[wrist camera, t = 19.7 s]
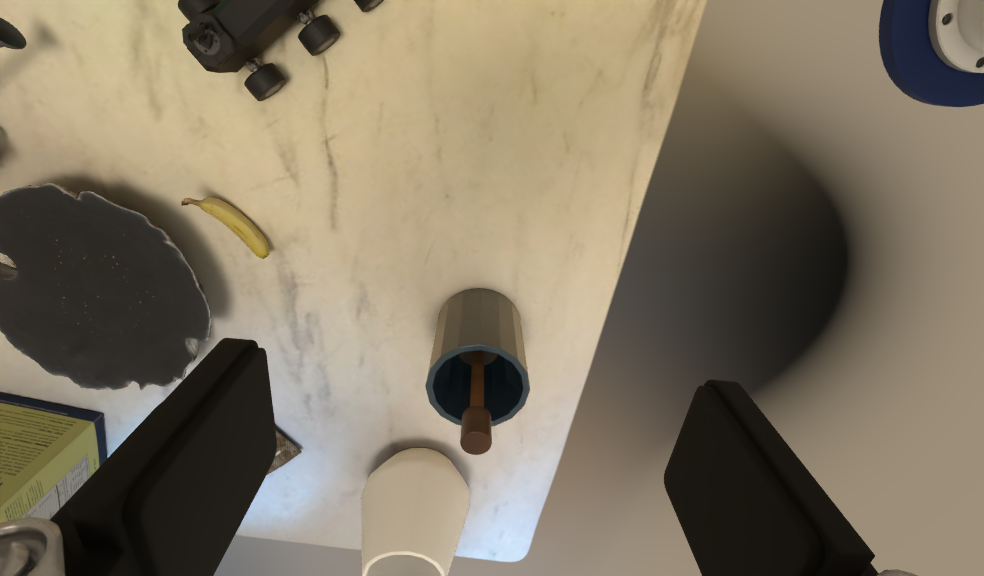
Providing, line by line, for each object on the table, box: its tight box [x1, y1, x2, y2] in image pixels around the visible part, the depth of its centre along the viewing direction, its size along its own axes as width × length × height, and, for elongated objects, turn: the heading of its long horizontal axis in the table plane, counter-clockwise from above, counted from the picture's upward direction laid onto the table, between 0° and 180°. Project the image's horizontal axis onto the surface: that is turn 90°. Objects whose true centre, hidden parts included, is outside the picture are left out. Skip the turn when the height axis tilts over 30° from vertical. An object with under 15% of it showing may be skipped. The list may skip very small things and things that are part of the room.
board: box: [0, 183, 212, 390], centre depth 46 cm, size 22×22×5 cm
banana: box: [181, 197, 269, 259], centre depth 44 cm, size 8×2×4 cm, turn 41°
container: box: [426, 289, 530, 426], centre depth 46 cm, size 9×9×11 cm
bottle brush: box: [458, 350, 498, 455], centre depth 43 cm, size 4×4×17 cm
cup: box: [361, 448, 470, 576], centre depth 55 cm, size 13×13×14 cm
